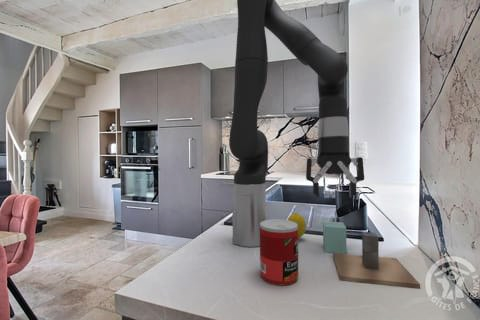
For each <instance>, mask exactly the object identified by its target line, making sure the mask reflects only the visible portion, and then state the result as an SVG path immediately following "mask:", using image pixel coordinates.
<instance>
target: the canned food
mask: <svg viewBox="0 0 480 320" xmlns="http://www.w3.org/2000/svg"><path fill="white" fill-rule="evenodd" d="M259 266H260V267H259V270H260V271H259V272H260V275H261V278H262V279H263V280H264V281H265V282H267V283H269V284H272V285H276V286H287V285H288V286H289V285H292V284H294V283H296V282H297V280H298V278H299V238H298V225H297V224H296V223H295V222H292V221H289V220H288V219H277V218H275V219H273V218H272V219H266V220H265V221H262V222H261V223H260V246H259Z"/></svg>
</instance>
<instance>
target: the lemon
mask: <svg viewBox="0 0 480 320" xmlns="http://www.w3.org/2000/svg"><path fill="white" fill-rule="evenodd" d="M287 220H289V221H292V222H295V223H296V224H297V225H298V239H299V238H301V237H303V236H304V234H305V232H306V227H307V226H306V221H305V218H304V217H303V216H302V215H301V214H300V213H298V212H294V213H293V214H290V215H289V217H288V218H287Z"/></svg>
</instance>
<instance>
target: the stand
mask: <svg viewBox="0 0 480 320" xmlns="http://www.w3.org/2000/svg"><path fill="white" fill-rule="evenodd" d="M379 251H380V250H379V235H377V233H376V232H365V231H363V232H361V255H359V254H348V253H347V254H342V253H332V259H333V261H334V262H333V263H334V265H335V268H336V271H337V275H338V277H339V281H344V282H345V281H346V282H353V283H364V284H372V285H373V284H375V285H383V286H394V287H402V288H403V287H404V288H411V289H413V288H414V289H421V283H420V282H419V281H418V280H417V279H416V278H415V277H414V276H413V274H412V273H411V272H410V271H409V270H407V268H406V267H405V266H404V264H402V263H401V261H399V260H398V259H397V258H396V257H386V256H385V257H384V256H379V253H380V252H379Z"/></svg>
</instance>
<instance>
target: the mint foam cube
mask: <svg viewBox="0 0 480 320" xmlns="http://www.w3.org/2000/svg"><path fill="white" fill-rule="evenodd" d="M322 237H323V238H322V246H323V249H324V253H332V254H333V253H337V254H348V253H347V227H346V225H345V223H344V222H341V221H339V222H338V221H322Z"/></svg>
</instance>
